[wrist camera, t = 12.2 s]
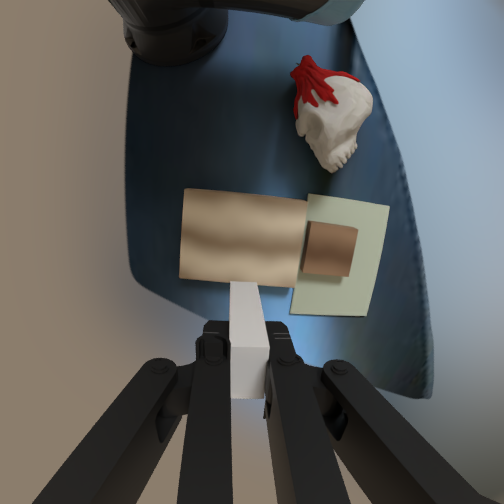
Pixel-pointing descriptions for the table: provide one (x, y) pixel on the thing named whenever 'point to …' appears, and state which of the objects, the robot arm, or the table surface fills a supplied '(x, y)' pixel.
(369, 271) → the sage mat
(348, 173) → the table surface
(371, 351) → the table surface
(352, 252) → the walnut tile
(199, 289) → the table surface
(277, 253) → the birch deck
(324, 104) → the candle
